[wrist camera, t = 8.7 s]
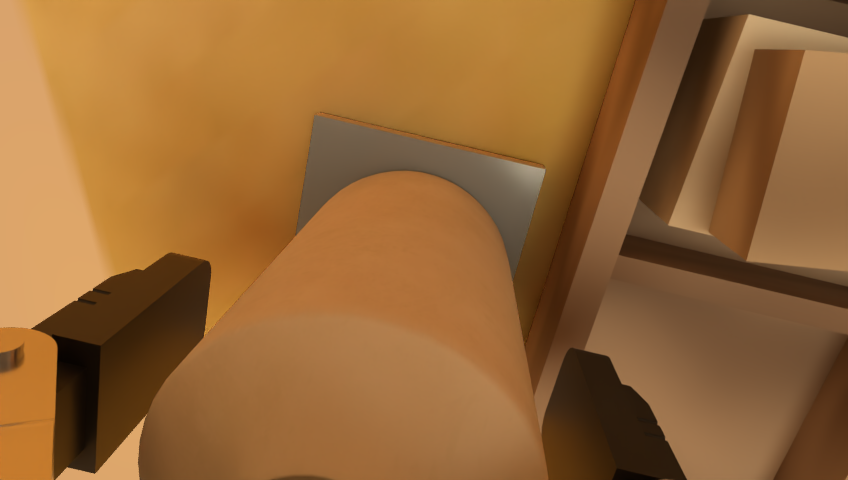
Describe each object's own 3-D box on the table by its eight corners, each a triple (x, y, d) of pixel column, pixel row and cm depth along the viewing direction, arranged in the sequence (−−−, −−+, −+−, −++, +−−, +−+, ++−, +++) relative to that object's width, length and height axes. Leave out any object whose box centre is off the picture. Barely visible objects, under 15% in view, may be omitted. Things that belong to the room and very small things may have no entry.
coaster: (320, 111, 15) (314, 114, 15) (543, 164, 15) (546, 169, 15) (282, 342, 17) (276, 353, 17) (476, 388, 18) (477, 400, 17)
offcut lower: (701, 19, 14) (749, 14, 11) (951, 78, 14) (1048, 85, 11) (637, 198, 15) (668, 224, 13) (863, 251, 15) (934, 288, 13)
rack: (660, -78, 13) (768, -146, 9) (1040, 14, 13) (1355, -4, 9) (476, 499, 19) (479, 651, 14) (745, 562, 19) (839, 734, 14)
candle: (486, 372, 17) (511, 805, 7) (297, 339, 17) (74, 723, 7) (527, 186, 15) (632, 436, 5) (315, 150, 15) (50, 333, 5)
